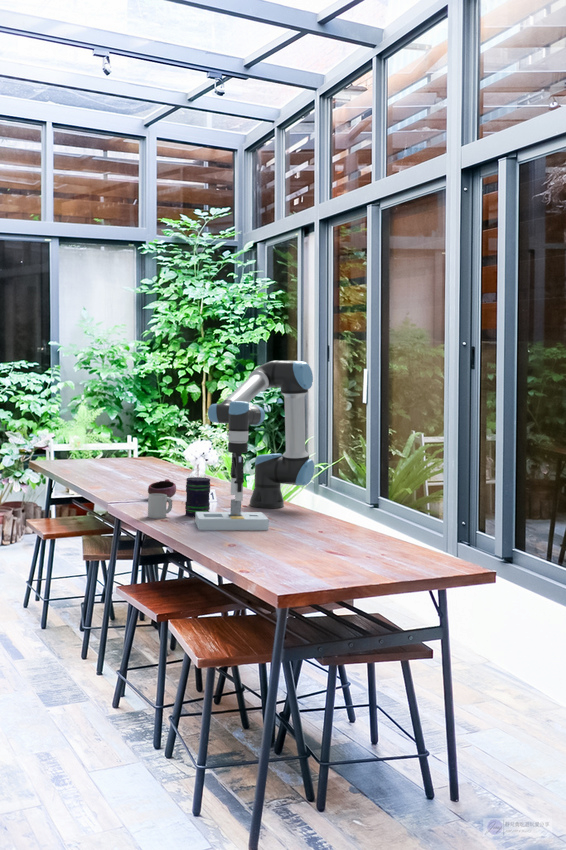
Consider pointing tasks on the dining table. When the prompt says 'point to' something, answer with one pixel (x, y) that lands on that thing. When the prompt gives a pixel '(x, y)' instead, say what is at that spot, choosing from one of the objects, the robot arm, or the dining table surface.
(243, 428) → the robot arm
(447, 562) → the dining table surface
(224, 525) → the block
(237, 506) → the grey rounded cylinder
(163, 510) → the cup
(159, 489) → the bowl
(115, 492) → the dining table surface
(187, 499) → the storage jar
